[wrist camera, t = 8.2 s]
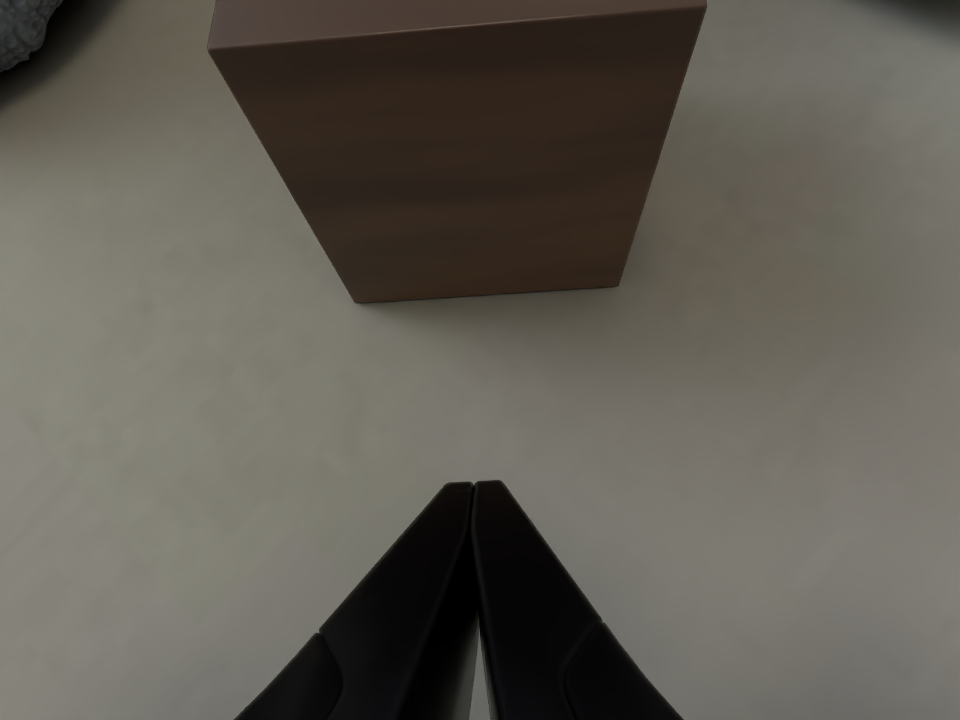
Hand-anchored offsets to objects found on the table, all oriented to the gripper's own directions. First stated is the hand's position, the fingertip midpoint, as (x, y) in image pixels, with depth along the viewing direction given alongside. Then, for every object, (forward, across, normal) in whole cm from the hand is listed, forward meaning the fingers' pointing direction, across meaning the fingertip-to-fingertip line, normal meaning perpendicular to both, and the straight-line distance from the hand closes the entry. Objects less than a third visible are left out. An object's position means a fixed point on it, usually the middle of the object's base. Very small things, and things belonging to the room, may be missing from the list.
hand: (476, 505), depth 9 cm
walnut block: (+12, 0, -3) cm, 13 cm away
